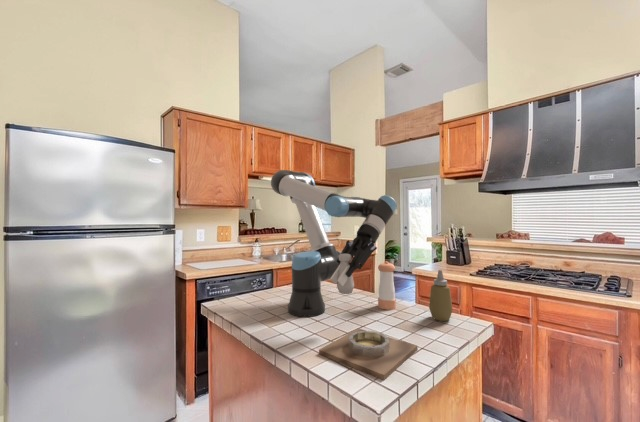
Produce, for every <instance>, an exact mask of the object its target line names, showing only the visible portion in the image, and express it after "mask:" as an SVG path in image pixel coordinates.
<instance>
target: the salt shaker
mask: <svg viewBox="0 0 640 422" xmlns="http://www.w3.org/2000/svg"><path fill="white" fill-rule="evenodd" d="M352 259H353V258H352V257H351V255H350V254H340V255H339V261H341V262H340V269H339V275H338V279H339V277H340V276H341V274H342V273H343V271H344V270H345V268H346V267H347V266H348V265H349V263H351V261H352ZM349 266H350V265H349ZM336 288H337V291H338V293H340V294H341V295H350V294H352V293H353V292H354V288H355V282H354V278H353V274H352V275H351V276H350V277H348V278H347V281H346V283H345V284H344V286H341V284H340V283H339V282H337V283H336Z"/></svg>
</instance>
